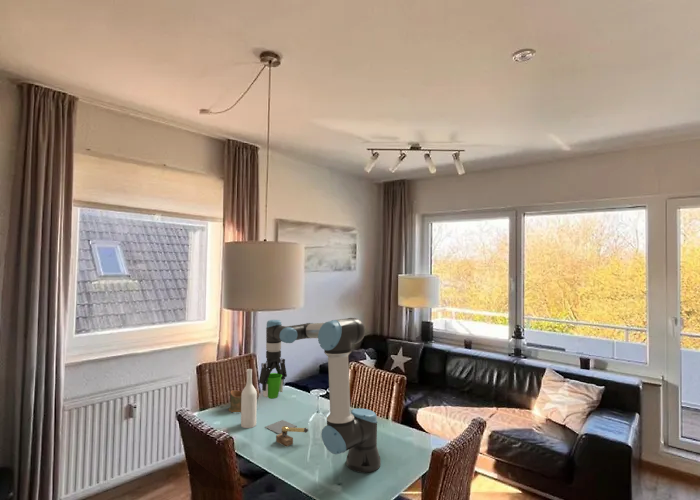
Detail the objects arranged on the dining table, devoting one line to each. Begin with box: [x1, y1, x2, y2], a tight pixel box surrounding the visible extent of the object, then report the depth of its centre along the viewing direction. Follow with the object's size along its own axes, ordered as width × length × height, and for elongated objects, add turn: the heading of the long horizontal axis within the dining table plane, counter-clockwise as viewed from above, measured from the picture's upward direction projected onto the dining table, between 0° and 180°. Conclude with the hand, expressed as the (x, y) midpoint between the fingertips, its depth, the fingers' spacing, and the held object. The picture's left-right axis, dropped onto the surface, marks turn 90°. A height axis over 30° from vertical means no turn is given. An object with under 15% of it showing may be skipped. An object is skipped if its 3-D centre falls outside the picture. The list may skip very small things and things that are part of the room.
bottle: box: [240, 368, 258, 429], centre depth 211 cm, size 8×8×30 cm
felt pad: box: [264, 419, 298, 435], centre depth 209 cm, size 12×12×1 cm
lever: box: [282, 426, 309, 433], centre depth 192 cm, size 13×3×2 cm, turn 85°
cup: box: [267, 372, 282, 400], centre depth 201 cm, size 9×9×11 cm
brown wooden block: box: [275, 432, 294, 448], centre depth 191 cm, size 8×4×5 cm, turn 49°
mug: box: [228, 388, 260, 413], centre depth 233 cm, size 12×18×12 cm, turn 89°
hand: (273, 394), depth 201 cm, fingers closed on cup, 9 cm apart
